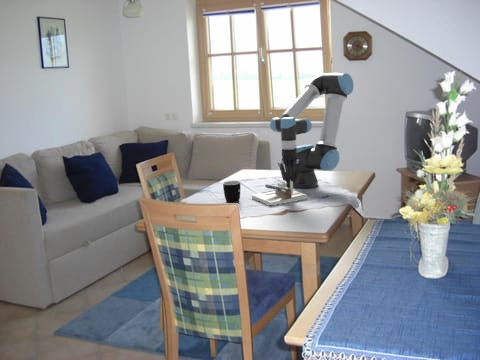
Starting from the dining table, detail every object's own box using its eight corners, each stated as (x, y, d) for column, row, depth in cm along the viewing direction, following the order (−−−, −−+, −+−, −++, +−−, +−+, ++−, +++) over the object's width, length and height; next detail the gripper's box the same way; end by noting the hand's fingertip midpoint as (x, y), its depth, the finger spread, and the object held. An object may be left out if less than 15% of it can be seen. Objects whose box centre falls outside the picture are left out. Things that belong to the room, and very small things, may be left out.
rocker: (287, 190, 299) (287, 187, 299) (290, 192, 296) (291, 188, 295) (265, 187, 292) (265, 183, 292) (268, 188, 289) (269, 184, 288)
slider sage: (284, 188, 306) (283, 180, 305) (288, 190, 302) (288, 181, 301) (278, 190, 304) (277, 181, 303) (282, 191, 300) (281, 183, 299)
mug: (241, 203, 290) (240, 184, 288) (223, 204, 290) (222, 185, 288) (241, 197, 302) (240, 179, 299) (224, 198, 302) (223, 180, 299)
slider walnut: (287, 196, 290) (287, 187, 289) (291, 197, 287) (291, 188, 286) (280, 197, 289) (280, 188, 288) (285, 198, 285) (284, 190, 284)
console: (287, 191, 308) (286, 184, 307) (307, 198, 291) (307, 190, 290) (252, 198, 298) (251, 190, 297) (271, 206, 281) (270, 198, 280)
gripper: (295, 145, 290) (297, 190, 295) (274, 148, 284) (276, 194, 289) (303, 147, 283) (305, 192, 288) (282, 150, 277) (283, 196, 282)
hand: (290, 193), depth 289 cm, fingers closed
